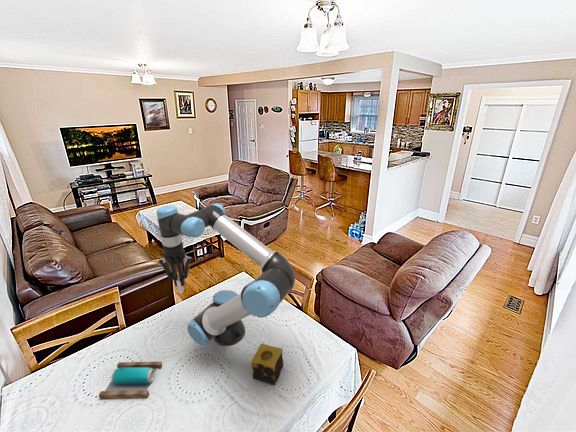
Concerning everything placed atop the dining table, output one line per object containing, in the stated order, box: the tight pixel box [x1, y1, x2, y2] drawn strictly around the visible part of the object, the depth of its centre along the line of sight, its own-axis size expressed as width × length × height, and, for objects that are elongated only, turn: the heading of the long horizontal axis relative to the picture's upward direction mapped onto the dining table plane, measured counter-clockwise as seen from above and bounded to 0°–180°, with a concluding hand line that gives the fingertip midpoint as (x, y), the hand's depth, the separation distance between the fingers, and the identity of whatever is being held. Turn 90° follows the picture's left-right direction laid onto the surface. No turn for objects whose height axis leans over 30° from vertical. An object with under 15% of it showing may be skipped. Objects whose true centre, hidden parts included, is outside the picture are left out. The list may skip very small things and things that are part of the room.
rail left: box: [98, 389, 150, 400], centre depth 109 cm, size 18×2×2 cm, turn 91°
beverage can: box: [110, 367, 156, 384], centre depth 114 cm, size 6×6×15 cm
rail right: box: [116, 361, 163, 370], centre depth 121 cm, size 18×2×2 cm, turn 91°
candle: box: [251, 343, 284, 386], centre depth 117 cm, size 10×10×10 cm
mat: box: [104, 369, 157, 391], centre depth 115 cm, size 16×11×1 cm
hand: (181, 291), depth 123 cm, fingers closed
